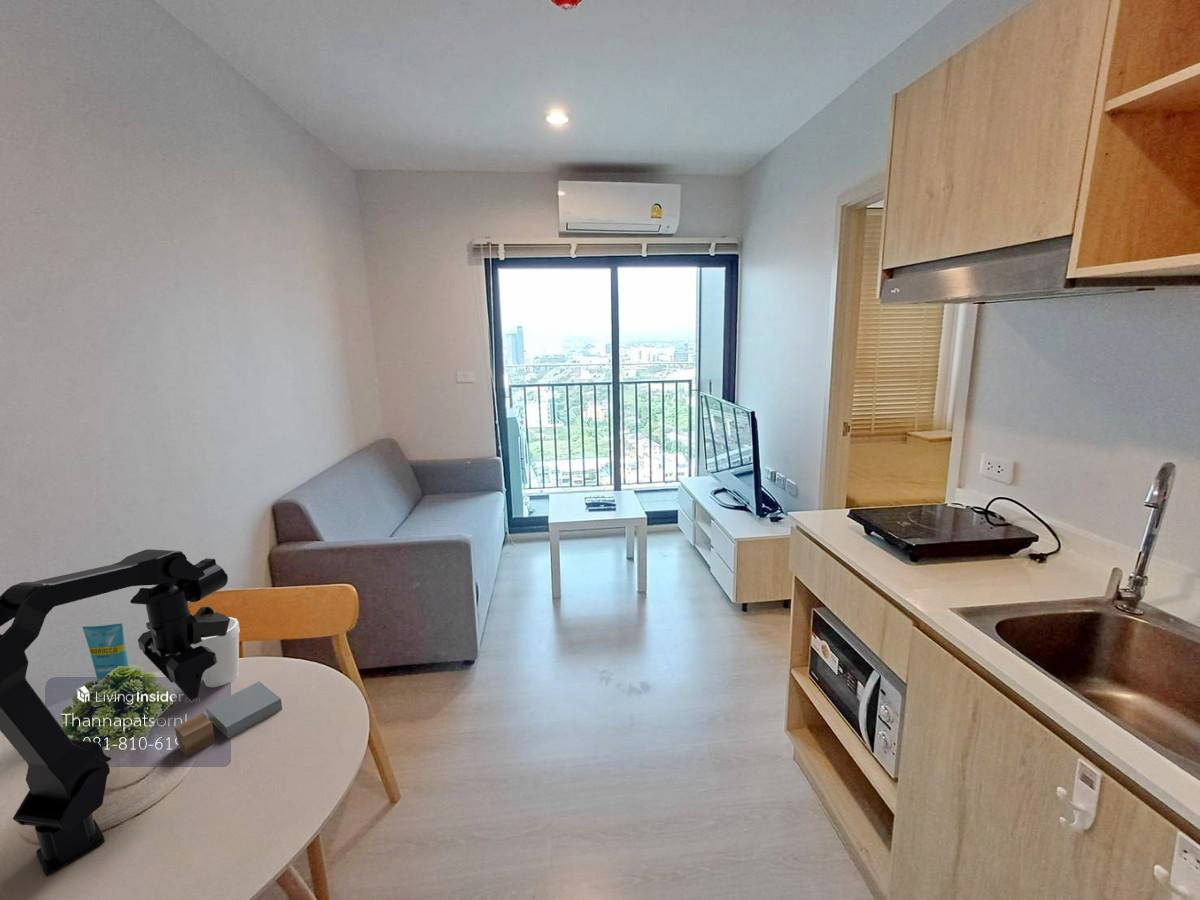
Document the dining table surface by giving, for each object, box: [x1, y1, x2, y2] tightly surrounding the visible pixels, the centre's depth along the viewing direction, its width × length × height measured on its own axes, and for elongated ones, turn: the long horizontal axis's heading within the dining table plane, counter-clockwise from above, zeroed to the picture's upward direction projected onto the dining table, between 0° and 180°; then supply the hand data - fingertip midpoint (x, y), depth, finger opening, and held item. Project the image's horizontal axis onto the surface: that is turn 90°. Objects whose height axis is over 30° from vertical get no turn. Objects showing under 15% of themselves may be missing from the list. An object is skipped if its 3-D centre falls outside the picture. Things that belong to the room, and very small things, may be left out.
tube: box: [81, 622, 130, 682], centre depth 107 cm, size 7×5×19 cm, turn 103°
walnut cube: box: [174, 712, 216, 757], centre depth 98 cm, size 4×4×4 cm
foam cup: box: [191, 616, 241, 688], centre depth 116 cm, size 10×9×13 cm
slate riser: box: [205, 681, 283, 739], centre depth 106 cm, size 10×10×2 cm
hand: (184, 689), depth 96 cm, fingers open, 9 cm apart
